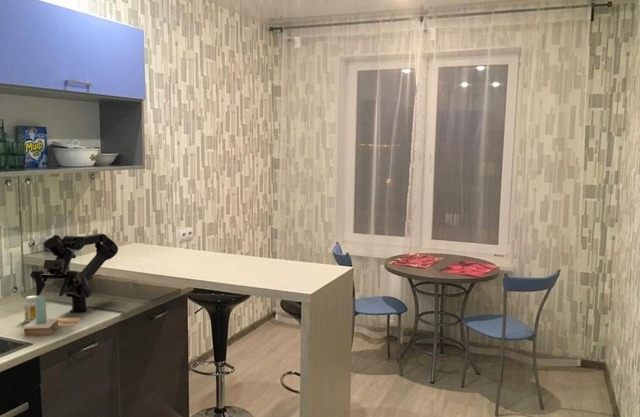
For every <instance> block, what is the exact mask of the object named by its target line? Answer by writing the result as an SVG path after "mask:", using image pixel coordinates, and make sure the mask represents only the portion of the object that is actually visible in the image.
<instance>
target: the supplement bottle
mask: <svg viewBox="0 0 640 417" xmlns="http://www.w3.org/2000/svg"><path fill="white" fill-rule="evenodd" d="M35 297H37V295H29V296H26V297H25V302H24V306H23V307H24V320H25V322H28V323H30V322H31V321H32V320H33V319H36V313H35Z"/></svg>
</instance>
